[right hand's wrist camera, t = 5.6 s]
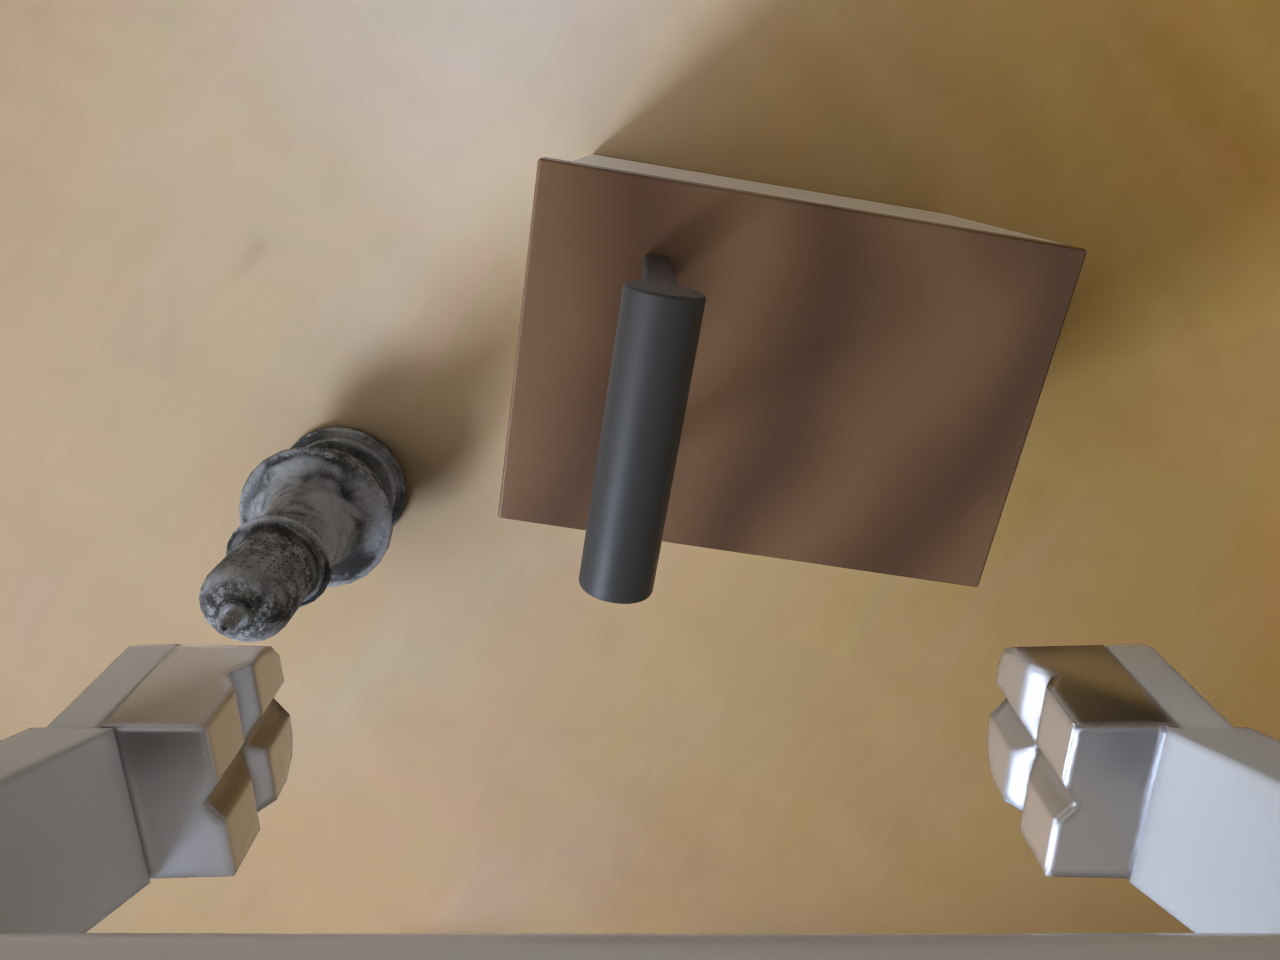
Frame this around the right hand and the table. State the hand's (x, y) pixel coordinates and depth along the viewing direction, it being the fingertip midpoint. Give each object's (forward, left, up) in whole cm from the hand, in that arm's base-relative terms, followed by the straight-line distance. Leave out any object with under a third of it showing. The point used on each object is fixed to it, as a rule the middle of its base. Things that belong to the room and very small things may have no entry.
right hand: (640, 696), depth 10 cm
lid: (+4, -1, -17) cm, 17 cm away
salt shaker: (-14, -5, -27) cm, 31 cm away
